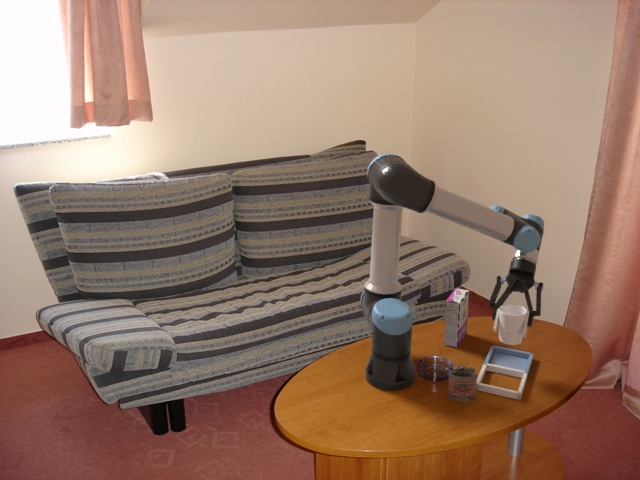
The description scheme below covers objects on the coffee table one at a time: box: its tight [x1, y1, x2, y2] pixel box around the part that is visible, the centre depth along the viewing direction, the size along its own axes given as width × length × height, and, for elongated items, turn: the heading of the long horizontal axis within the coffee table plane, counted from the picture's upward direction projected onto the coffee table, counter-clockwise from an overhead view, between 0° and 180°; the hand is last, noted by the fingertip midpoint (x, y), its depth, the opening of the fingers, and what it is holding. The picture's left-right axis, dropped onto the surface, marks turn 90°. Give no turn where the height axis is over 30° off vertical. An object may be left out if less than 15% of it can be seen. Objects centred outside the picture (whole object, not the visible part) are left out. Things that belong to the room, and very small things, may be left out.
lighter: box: [446, 364, 479, 402], centre depth 182 cm, size 8×3×10 cm, turn 82°
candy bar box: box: [443, 287, 470, 348], centre depth 213 cm, size 11×5×16 cm, turn 153°
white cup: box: [498, 303, 528, 346], centre depth 191 cm, size 8×8×10 cm
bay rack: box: [476, 344, 535, 401], centre depth 195 cm, size 13×25×2 cm, turn 155°
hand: (509, 333), depth 188 cm, fingers closed on white cup, 8 cm apart
